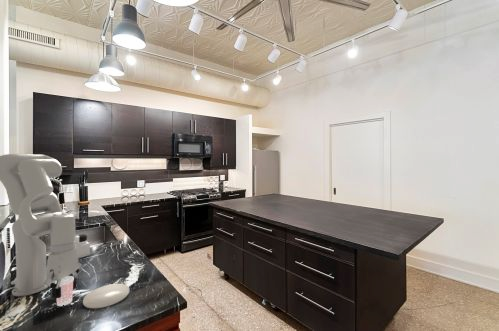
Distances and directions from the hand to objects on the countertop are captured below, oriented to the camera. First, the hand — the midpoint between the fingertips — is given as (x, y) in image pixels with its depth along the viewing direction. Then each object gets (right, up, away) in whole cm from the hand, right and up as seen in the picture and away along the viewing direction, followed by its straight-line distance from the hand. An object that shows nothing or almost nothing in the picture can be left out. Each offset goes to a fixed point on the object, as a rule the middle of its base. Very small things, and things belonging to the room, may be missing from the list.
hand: (64, 292), depth 92 cm
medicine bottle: (-27, -4, +46) cm, 53 cm away
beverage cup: (0, -4, 0) cm, 4 cm away
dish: (+14, -4, +4) cm, 15 cm away
